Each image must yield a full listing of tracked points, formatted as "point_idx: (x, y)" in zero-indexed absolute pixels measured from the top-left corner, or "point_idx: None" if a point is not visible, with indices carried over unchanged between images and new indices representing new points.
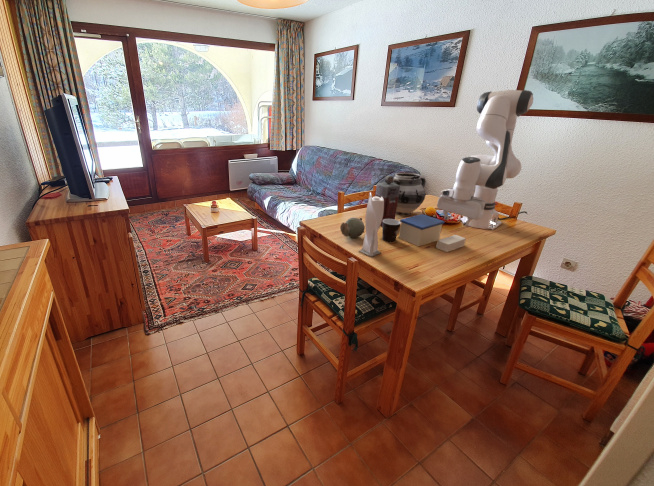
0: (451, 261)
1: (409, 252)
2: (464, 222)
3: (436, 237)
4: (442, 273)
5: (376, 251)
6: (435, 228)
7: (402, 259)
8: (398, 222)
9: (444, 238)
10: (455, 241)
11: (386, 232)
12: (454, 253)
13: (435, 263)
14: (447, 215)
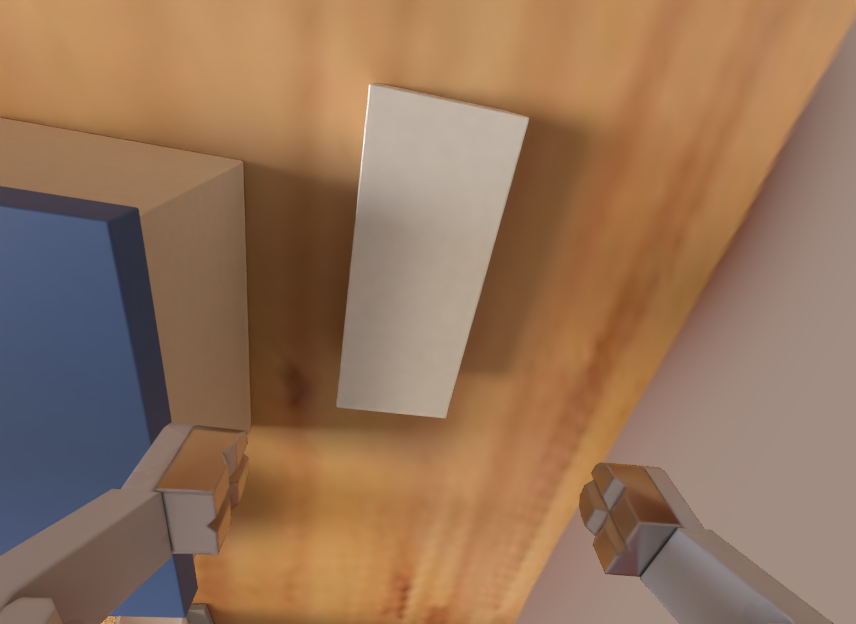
0: (514, 457)
1: (284, 520)
2: (616, 572)
3: (230, 233)
4: (521, 566)
5: (186, 616)
6: (177, 357)
7: (321, 585)
8: None
9: (350, 323)
10: (465, 314)
11: None
12: (490, 346)
13: (456, 524)
14: (149, 522)
